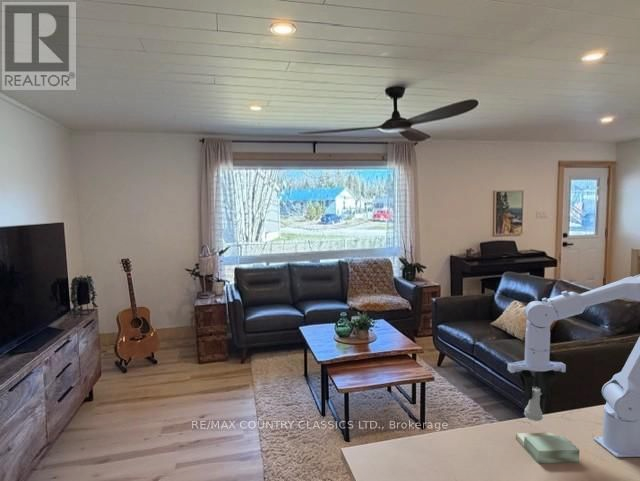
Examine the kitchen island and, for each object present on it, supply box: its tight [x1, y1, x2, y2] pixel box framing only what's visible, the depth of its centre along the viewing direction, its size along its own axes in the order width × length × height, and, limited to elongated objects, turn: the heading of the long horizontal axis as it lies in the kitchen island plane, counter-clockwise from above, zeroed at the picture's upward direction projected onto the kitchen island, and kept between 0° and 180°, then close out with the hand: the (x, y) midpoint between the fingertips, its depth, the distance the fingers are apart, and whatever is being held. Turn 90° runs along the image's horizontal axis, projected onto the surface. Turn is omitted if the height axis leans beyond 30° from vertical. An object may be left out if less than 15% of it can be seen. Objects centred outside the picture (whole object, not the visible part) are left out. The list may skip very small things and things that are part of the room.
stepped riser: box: [515, 432, 581, 464], centre depth 100 cm, size 10×10×3 cm
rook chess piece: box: [523, 386, 544, 422], centre depth 107 cm, size 4×4×8 cm
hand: (535, 397), depth 107 cm, fingers closed on rook chess piece, 3 cm apart
